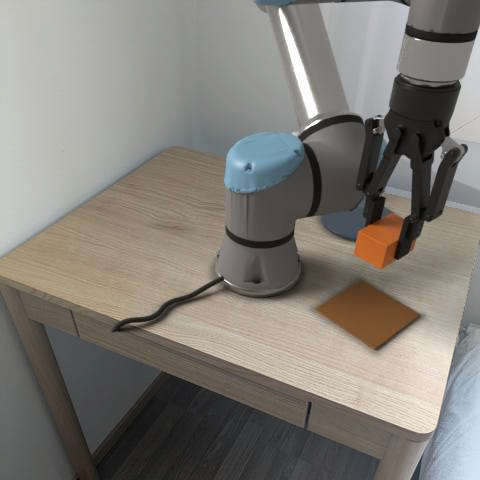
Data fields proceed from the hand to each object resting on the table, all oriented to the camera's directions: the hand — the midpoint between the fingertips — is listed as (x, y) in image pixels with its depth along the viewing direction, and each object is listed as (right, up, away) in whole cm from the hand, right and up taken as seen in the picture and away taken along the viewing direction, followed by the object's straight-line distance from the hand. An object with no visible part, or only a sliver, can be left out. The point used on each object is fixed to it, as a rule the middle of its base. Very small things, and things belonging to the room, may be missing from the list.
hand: (384, 246), depth 72 cm
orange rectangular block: (0, -1, +1) cm, 1 cm away
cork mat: (0, -10, +8) cm, 13 cm away
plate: (+4, +10, +30) cm, 32 cm away
